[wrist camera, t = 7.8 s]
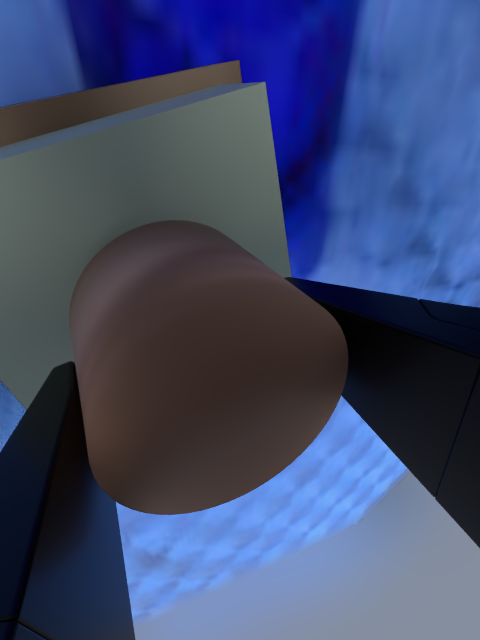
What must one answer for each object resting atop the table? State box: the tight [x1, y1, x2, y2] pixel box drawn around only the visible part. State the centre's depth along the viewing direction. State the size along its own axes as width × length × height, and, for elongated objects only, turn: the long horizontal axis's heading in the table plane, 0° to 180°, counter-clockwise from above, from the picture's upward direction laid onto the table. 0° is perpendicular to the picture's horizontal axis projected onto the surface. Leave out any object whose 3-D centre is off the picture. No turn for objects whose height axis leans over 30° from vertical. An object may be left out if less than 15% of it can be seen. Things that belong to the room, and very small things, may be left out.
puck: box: [69, 220, 348, 515], centre depth 8 cm, size 5×5×4 cm
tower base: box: [0, 60, 242, 147], centre depth 14 cm, size 10×10×3 cm
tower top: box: [0, 82, 292, 410], centre depth 12 cm, size 9×9×3 cm
